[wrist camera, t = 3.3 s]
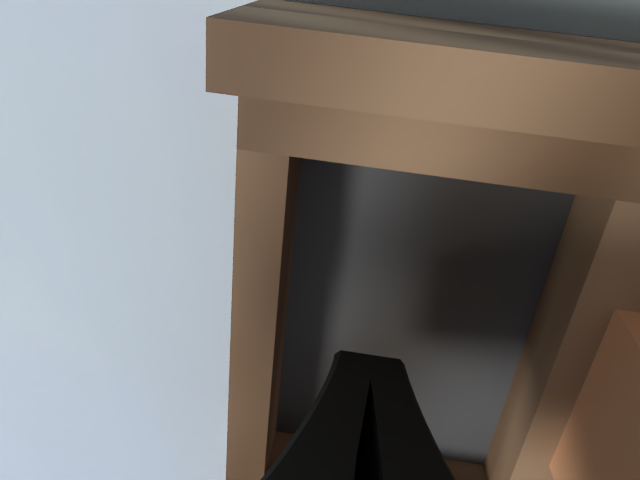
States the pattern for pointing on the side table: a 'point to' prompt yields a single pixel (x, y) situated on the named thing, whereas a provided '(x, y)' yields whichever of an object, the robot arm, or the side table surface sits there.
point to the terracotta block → (606, 411)
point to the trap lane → (425, 220)
